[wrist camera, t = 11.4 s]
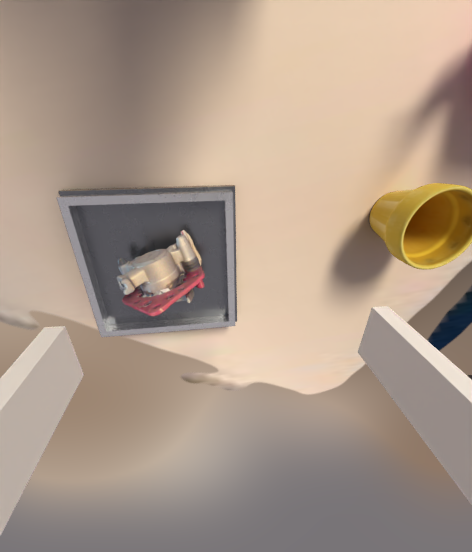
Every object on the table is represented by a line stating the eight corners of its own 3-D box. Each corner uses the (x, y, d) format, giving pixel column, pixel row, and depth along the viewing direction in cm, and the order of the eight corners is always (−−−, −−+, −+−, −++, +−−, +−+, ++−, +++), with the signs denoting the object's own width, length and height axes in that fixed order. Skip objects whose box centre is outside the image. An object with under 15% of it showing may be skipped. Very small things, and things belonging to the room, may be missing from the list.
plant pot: (343, 227, 39) (383, 249, 30) (389, 164, 35) (449, 167, 27) (388, 255, 42) (436, 282, 33) (434, 199, 39) (501, 213, 30)
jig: (63, 189, 32) (50, 193, 29) (234, 185, 34) (236, 187, 32) (105, 328, 42) (98, 340, 39) (236, 317, 44) (238, 328, 41)
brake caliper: (149, 327, 38) (101, 331, 26) (133, 260, 40) (82, 237, 28) (219, 304, 38) (203, 298, 26) (200, 239, 40) (177, 206, 28)
